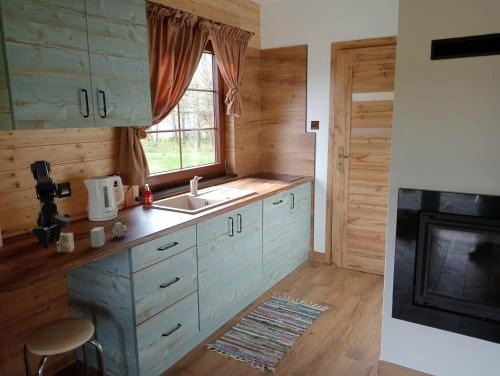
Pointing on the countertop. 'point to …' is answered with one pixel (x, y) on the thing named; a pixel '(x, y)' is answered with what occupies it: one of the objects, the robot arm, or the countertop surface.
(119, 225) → the grey knobbly lump
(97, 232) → the grey block
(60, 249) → the birch block
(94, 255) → the countertop surface
